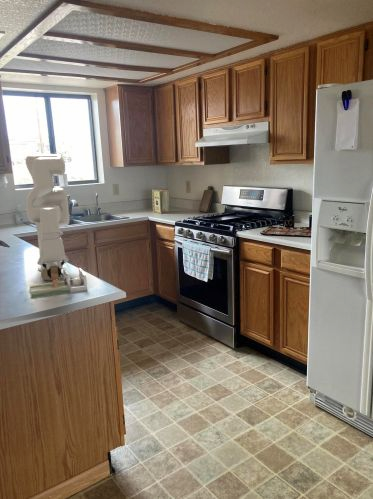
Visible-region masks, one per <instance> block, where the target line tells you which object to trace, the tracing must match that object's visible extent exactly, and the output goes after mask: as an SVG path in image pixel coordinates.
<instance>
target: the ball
mask: <svg viewBox="0 0 373 499" xmlns="http://www.w3.org/2000/svg"><path fill="white" fill-rule="evenodd" d="M72 279H73V281H72V284H73V285H74V286H76V287H78V286H80V285H81V279H79V277H75V278H72Z"/></svg>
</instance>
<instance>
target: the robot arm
mask: <svg viewBox="0 0 373 499" xmlns="http://www.w3.org/2000/svg"><path fill="white" fill-rule="evenodd" d="M25 165H26V168H27V171H28V172H29V174H30V177H31V178H32V182H33V188H32V189H31V190H30V191H29V193H28V195H27V196H26V200H25V201H26V202H25V203H26V204H25V206H26V207H25V208H26V216H27V219H28V221H29V222H30V223H32V224H35V229H36V233H37V242H38V250H39V251H38V252H39V258H38V260H37V265H39V266H37V270H38V271H39V272H41V271H42V269H43V267H45V268H46V269H47V275H48V276H49V278H51V269H50V267H49V262H53V263H55V264H56V265H57V266H58V276H59V277H60V276H61V272H62V269H63V268H64V267H63V266H65V264H66V263H67V262H69V261H70V260H69V258H68V256H67V255H66V253H65V246H64V242H63V239H62V237H61V236H64V232H63V231H60V227H63V228H64V227H67V226H68V225H70V212H69V211H70V210H69V199H68V198H69V197H68V193H67V191H66V190H65V188H63V187H55V182H54V181H55V180H54V176H63V175H64V174H65V173H66V163H65V161H64V159H63V156H62V155H60V154H59V153H58V154H57V153H54V154H53V153H49V154H45V153H40V154H39V153H37V154H36V153H35V154H29V155H27V156H26V157H25ZM34 202H35V205H34V204H33V203H34Z"/></svg>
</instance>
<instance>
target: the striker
mask: <svg viewBox="0 0 373 499" xmlns="http://www.w3.org/2000/svg"><path fill="white" fill-rule="evenodd" d="M50 269H51V281H52V283H53V286H54V288H55V287H58V282H59V280H60V279H59V276H58V267H57V265H56V266H50Z"/></svg>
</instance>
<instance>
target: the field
mask: <svg viewBox="0 0 373 499" xmlns="http://www.w3.org/2000/svg"><path fill="white" fill-rule="evenodd" d="M29 289H30V290H29V291H30V295H31V296H30V297H31V298H32V299H34V298H40V297H49V296H54V295H55V296H56V295H62V294H69V293H68V288H67V286H66V284H65V281H64V280H62V281H58V287H55V288H54V286H53V282H48V283H47V282H45V283H39V284H32V285H31V284H30V285H29Z"/></svg>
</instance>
